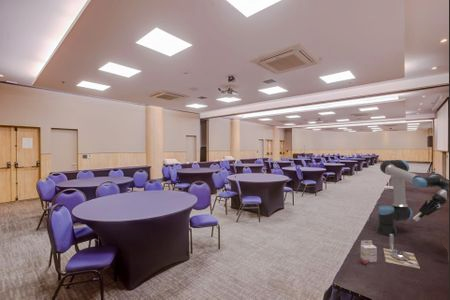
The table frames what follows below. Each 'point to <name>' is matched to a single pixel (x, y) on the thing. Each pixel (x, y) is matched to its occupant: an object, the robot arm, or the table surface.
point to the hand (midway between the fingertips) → (414, 219)
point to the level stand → (402, 262)
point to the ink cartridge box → (368, 252)
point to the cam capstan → (396, 253)
